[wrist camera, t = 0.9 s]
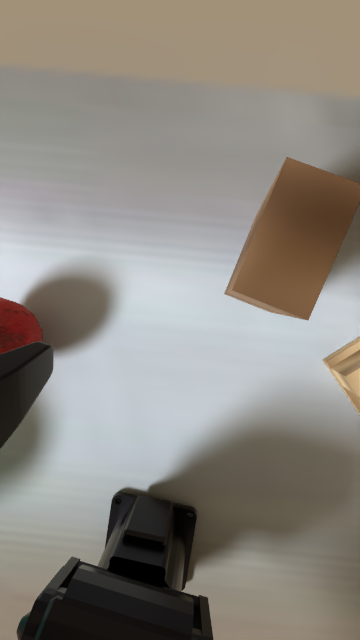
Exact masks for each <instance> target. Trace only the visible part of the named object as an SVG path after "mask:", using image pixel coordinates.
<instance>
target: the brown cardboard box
mask: <svg viewBox="0 0 360 640" xmlns="http://www.w3.org/2000/svg"><path fill="white" fill-rule="evenodd" d="M359 203H360V183H357V182H354V181H351V180H349V179H346V178H343V177H340V176H338V175H335V174H332V173H329V172H327V171H324V170H321V169H318V168H316V167H313V166H310V165H308V164H305V163H302V162H299V161H297V160H294V159H291V158H288V157H287V158H286V160H285V162H284V163H283V165H282V167H281V169H280V171H279V173H278V175H277V177H276V179H275V181H274V183H273V185H272V186H271V188H270V190H269V192H268V194H267V196H266V198H265V200H264V202H263V204H262V206H261V208H260V210H259V211H258V213H257V215H256V218H255V220H254V223H253V225H252V227H251V230H250V232H249V235H248V237H247V240H246V242H245V245H244V247H243V249H242V252H241V254H240V257H239V259H238V262H237V264H236V266H235V269H234V271H233V274H232V276H231V279H230V281H229V284H228V286H227V288H226V291H225V293H224V294H226V295H228V296H231V297H233V298H236V299H238V300H241V301H243V302H246V303H248V304H251V305H253V306H256V307H258V308H261V309H263V310H266V311H268V312H272V313H277V314H281V315H286V316H291V317H295V318H300V319H305V320H309V317H310V315H311V313H312V310H313V308H314V306H315V304H316V301H317V299H318V297H319V294H320V292H321V290H322V288H323V285H324V283H325V281H326V278H327V276H328V274H329V272H330V269H331V267H332V265H333V262H334V260H335V258H336V256H337V253H338V251H339V249H340V246H341V244H342V242H343V240H344V237H345V235H346V233H347V230H348V228H349V226H350V224H351V221H352V219H353V217H354V214H355V212H356V210H357V207H358V205H359Z"/></svg>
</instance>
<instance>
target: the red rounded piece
mask: <svg viewBox="0 0 360 640" xmlns="http://www.w3.org/2000/svg"><path fill="white" fill-rule="evenodd" d="M37 341H40V342H43V340H42V329H41V327H40V325H39V323H38V322H37V320H36V318H35V316H34V314H32V313H31V312H30V311H29V310H27V309H26V308H25V307H24V306H22V305H20V304H18V303H16V302H13V301H10V300H7V299H3V298H0V354H2V353H5V352H8V351H11V350H13V349H16V348H19V347H22V346H25V345H28V344H31V343H33V342H37Z"/></svg>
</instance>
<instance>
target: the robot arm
mask: <svg viewBox="0 0 360 640" xmlns="http://www.w3.org/2000/svg"><path fill="white" fill-rule="evenodd" d="M52 371H53V347H52V346H51V345H50V344H47V343H44V342H40V341H37V342H33V343H31V344H28V345H25V346H22V347H19V348H16V349H13V350H11V351H8V352H5V353H2V354H0V449H1V447H2V446H3V445H4V443H5V442H6V441H7V440H8V438H9V437H10V436H11V435H12V433H13V432H14V431H15V430H16V428H17V427H18V426H19V424H20V423H21V422H22V420H23V419H24V417H25V416H26V414H27V413H28V411H29V409H30V408H31V406H32V405H33V403H34V401H35V400H36V398H37V397H38V395H39V393H40V392H41V390H42V389H43V387H44V386H45V384H46V382H47V381H48V379H49V378H50V376H51V374H52ZM117 498H119V499H121V500H122V501H121V502H119V501H118V500H117ZM188 513H191V514H192V515H193V516H188V515H187V514H188ZM196 518H197V512H196V510H195V509H194V508H193V507H189V506H185V505H180V504H175V503H171V502H170V501H166V500H161V499H157V498H152V497H147V496H142V495H139V496H136V495H132V494H127V493H122V492H118V493H116V494H115V495H114V497H113V499H112V504H111V511H110V517H109V524H108V531H107V538H106V545H105V550H104V553H103V555H102V557H101V560H100V562H99V564H98V566H95V565H91V564H88V563H85V562H81V561H80V559H78V558H75V557H71V558H70V560H69V561H68V562H67V563H66V564H65V566H63V567H62V568H61V569H60V570H59V572H58V573H57V574H56V575H55V577H54V578H53V579H52V580H51V581H50V583H49V584H48V585H47V586H46V588H45V589H44V590H43V591H42V593H41V594H40V595H39V596H38V597H37V599H36V601H35V603H34V605H33V608H32V610H31V612H29V613H28V614H27V615H25V616H24V617H23V618H22V619H21V621H20V623H19V625H18V628H17V637H18V640H213V634H212V626H211V619H210V611H209V604H208V598H207V597H204V596H201V595H199V596H198V597H197V596H194V595H190V594H187V593H184V592H181V591H182V590H183V589H184V588H185V584H186V578H187V572H188V566H189V560H190V554H191V548H192V542H193V536H194V530H195V524H196Z"/></svg>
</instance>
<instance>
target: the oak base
mask: <svg viewBox="0 0 360 640" xmlns="http://www.w3.org/2000/svg"><path fill="white" fill-rule="evenodd" d="M323 361H324V363H325V364H326V366H327V367H328V369H329V370H330V372H331V373H332V375H333V376H334V378H335V379H336V380H337V382H338V383H339V385H340V386H341V388H342V389H343V391H344V392H345V394H346V395H347V397H348V398H349V400H350V401H351V403H352V404H353V406H354V407H355V409H356V410H357V412H358V413H359V415H360V337H359V338H357V339H355V340H354V341H352V342H351V343H349V344H347V345H346V346H344V347H343V348H341V349H339V350H338V351H336V352H334V353H333V354H331V355H330V356H328V357H326V358H325V359H323Z"/></svg>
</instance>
